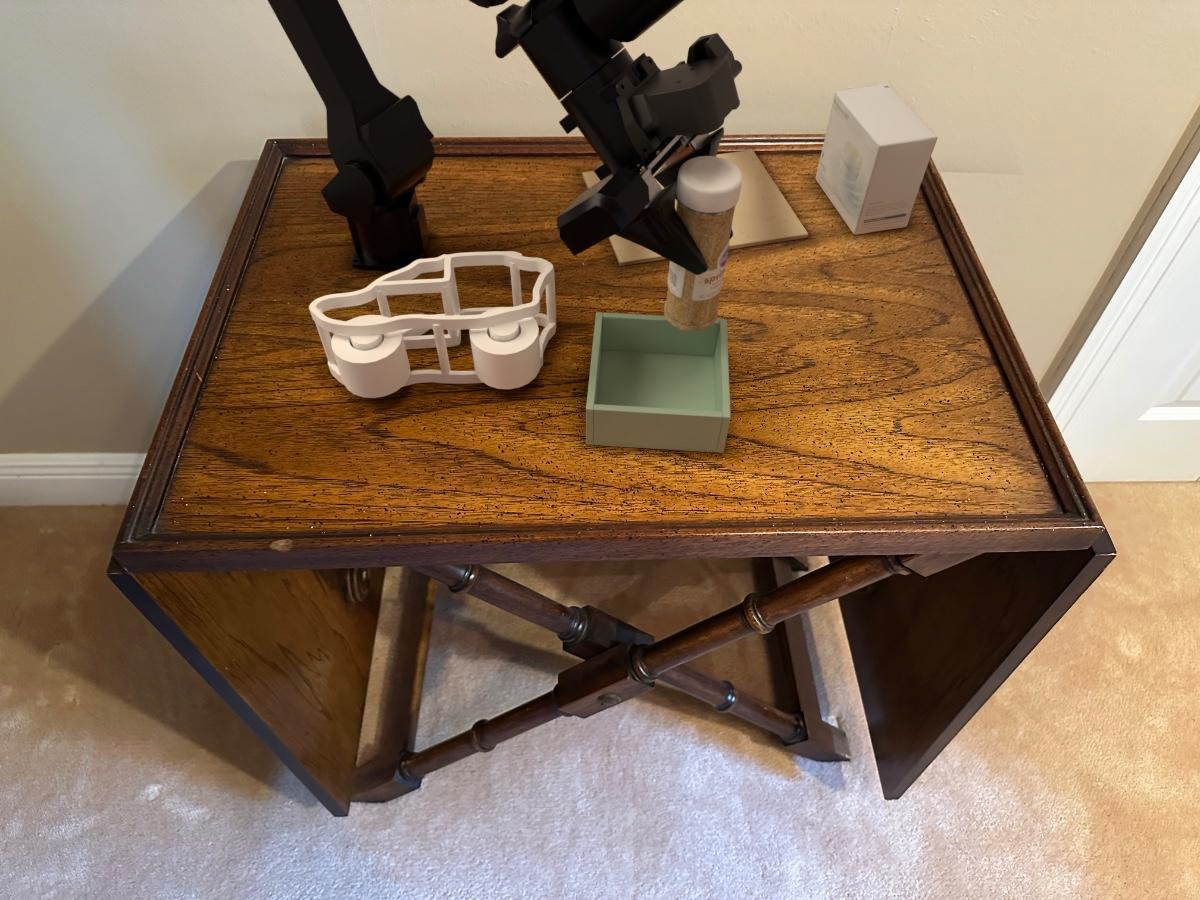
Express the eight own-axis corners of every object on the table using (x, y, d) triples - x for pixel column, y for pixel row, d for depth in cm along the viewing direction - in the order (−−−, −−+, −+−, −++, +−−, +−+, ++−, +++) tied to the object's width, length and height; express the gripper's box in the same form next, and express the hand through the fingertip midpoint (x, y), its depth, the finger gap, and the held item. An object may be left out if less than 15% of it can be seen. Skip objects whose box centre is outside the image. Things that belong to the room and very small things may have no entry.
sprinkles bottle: (714, 337, 67) (740, 194, 56) (658, 329, 67) (674, 185, 57) (719, 300, 70) (745, 157, 59) (666, 292, 70) (682, 149, 60)
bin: (586, 444, 68) (585, 409, 64) (595, 348, 75) (596, 311, 71) (723, 453, 67) (730, 417, 64) (720, 355, 74) (726, 318, 71)
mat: (619, 266, 82) (619, 262, 81) (582, 176, 91) (582, 172, 91) (807, 237, 85) (808, 233, 85) (752, 153, 95) (752, 149, 94)
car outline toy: (324, 414, 69) (301, 351, 63) (337, 324, 76) (317, 260, 70) (563, 399, 71) (561, 336, 65) (554, 311, 77) (552, 247, 72)
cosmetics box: (811, 179, 92) (833, 88, 83) (865, 172, 93) (891, 81, 84) (851, 236, 85) (879, 143, 77) (908, 228, 86) (941, 135, 78)
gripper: (599, 73, 46) (749, 293, 52) (733, -43, 56) (846, 151, 62) (492, 158, 55) (631, 340, 60) (626, 44, 65) (734, 208, 70)
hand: (715, 255), depth 63 cm, fingers closed on sprinkles bottle, 4 cm apart
